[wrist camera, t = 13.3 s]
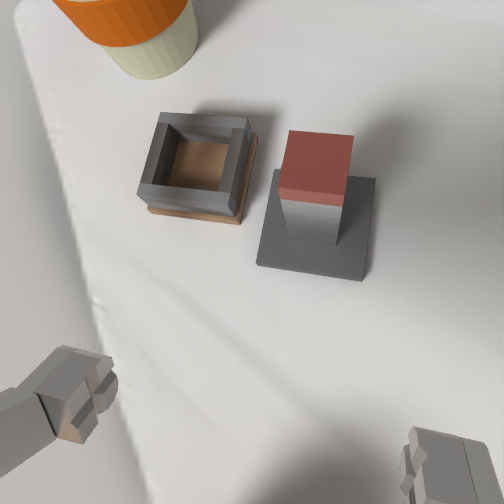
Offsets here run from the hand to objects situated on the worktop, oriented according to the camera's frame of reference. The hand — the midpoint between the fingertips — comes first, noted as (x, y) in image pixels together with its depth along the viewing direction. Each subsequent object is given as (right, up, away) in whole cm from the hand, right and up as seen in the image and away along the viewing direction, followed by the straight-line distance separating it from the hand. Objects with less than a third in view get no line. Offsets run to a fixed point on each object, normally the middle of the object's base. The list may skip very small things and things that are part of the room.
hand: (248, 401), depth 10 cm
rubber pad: (+5, +6, +19) cm, 21 cm away
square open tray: (-4, +11, +22) cm, 25 cm away
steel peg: (+5, +6, +18) cm, 20 cm away
